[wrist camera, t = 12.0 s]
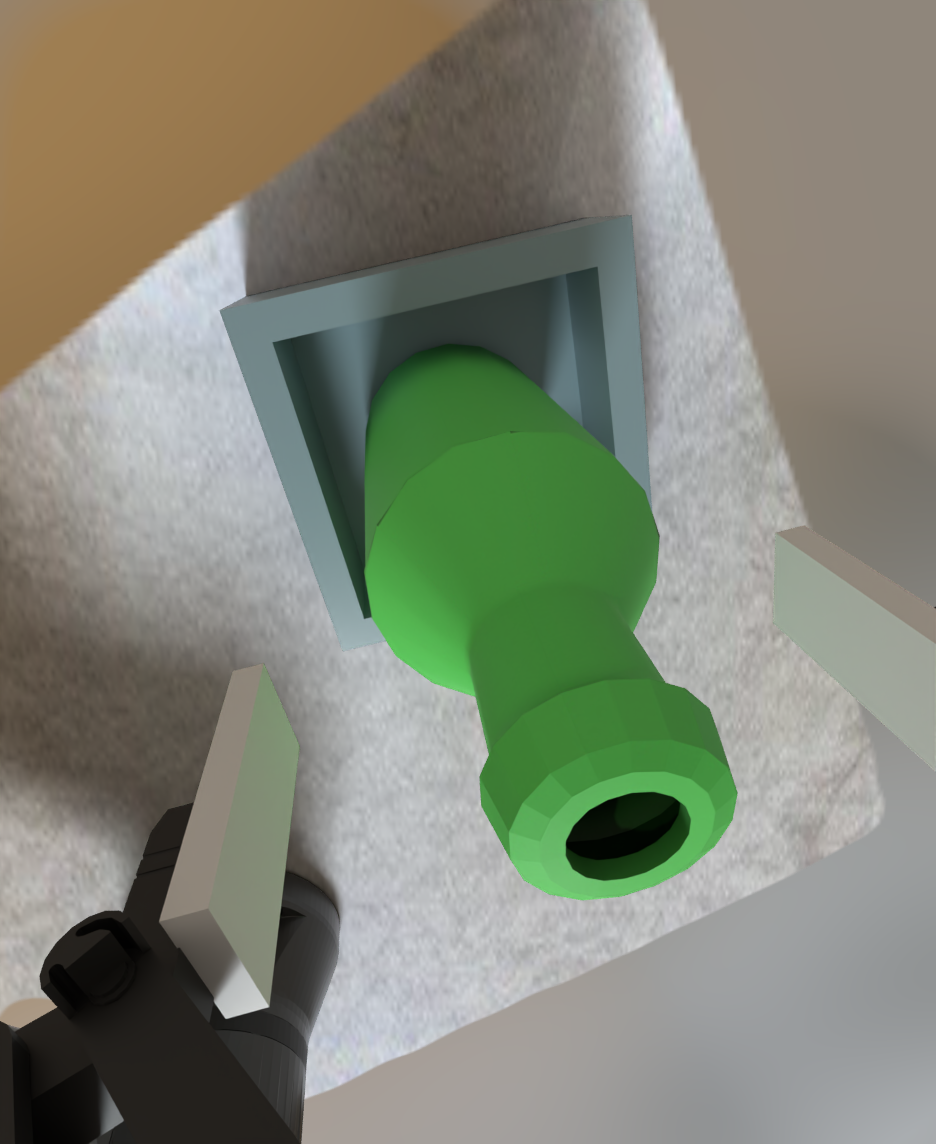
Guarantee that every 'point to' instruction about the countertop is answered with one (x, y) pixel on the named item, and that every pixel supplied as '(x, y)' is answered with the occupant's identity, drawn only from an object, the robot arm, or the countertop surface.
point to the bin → (420, 322)
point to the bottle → (538, 622)
